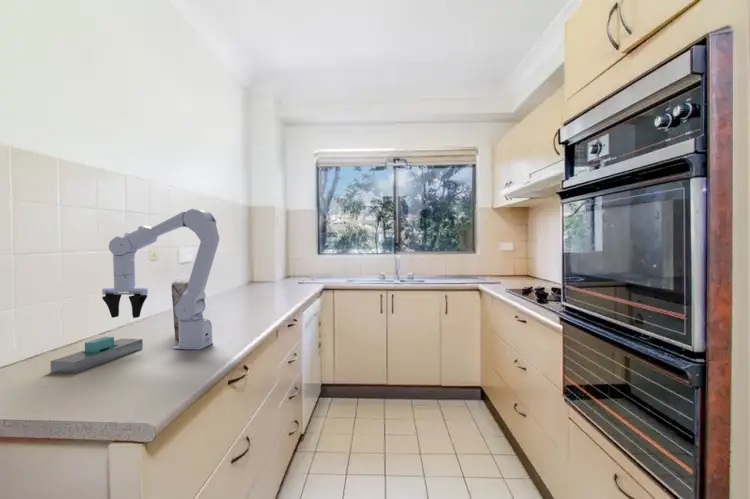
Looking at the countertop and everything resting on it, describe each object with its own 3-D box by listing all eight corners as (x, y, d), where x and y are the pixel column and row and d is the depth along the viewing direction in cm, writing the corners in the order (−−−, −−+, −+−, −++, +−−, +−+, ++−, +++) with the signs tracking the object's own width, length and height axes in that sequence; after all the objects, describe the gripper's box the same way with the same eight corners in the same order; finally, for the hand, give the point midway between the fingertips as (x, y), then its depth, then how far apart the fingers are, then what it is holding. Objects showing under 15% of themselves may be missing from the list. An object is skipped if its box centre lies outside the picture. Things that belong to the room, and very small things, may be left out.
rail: (142, 348, 128) (142, 339, 128) (75, 373, 104) (75, 362, 104) (121, 347, 129) (121, 338, 129) (50, 372, 105) (50, 361, 105)
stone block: (195, 338, 141) (193, 281, 140) (172, 340, 138) (171, 282, 137) (194, 330, 153) (193, 278, 152) (174, 332, 150) (172, 279, 149)
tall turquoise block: (105, 353, 120) (104, 336, 120) (114, 353, 119) (113, 336, 119) (85, 360, 113) (84, 342, 113) (94, 360, 112) (94, 342, 112)
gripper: (93, 275, 125) (95, 319, 125) (135, 275, 123) (136, 320, 123) (111, 273, 132) (113, 315, 132) (151, 273, 130) (152, 315, 130)
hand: (125, 317), depth 128 cm, fingers open, 7 cm apart
